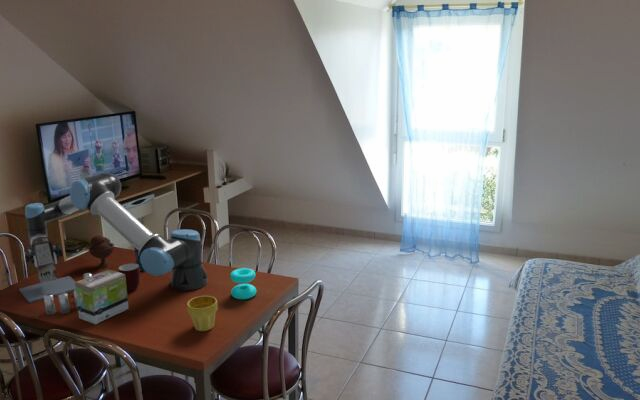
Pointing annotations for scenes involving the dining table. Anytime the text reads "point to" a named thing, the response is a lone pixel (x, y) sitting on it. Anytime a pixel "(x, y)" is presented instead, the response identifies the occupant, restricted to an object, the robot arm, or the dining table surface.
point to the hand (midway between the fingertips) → (46, 262)
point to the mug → (131, 275)
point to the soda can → (138, 259)
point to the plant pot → (203, 312)
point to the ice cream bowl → (101, 249)
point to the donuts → (243, 289)
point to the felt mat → (48, 289)
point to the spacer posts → (61, 300)
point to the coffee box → (45, 259)
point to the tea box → (101, 296)
